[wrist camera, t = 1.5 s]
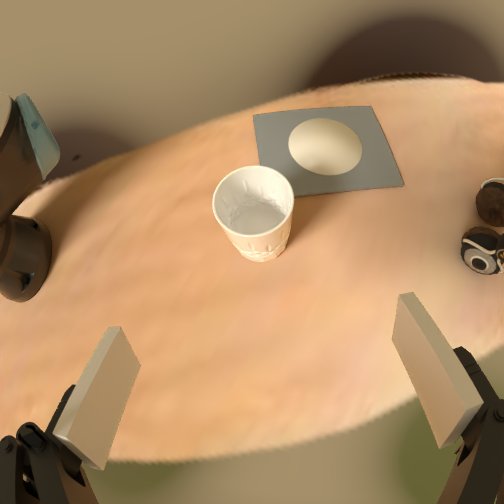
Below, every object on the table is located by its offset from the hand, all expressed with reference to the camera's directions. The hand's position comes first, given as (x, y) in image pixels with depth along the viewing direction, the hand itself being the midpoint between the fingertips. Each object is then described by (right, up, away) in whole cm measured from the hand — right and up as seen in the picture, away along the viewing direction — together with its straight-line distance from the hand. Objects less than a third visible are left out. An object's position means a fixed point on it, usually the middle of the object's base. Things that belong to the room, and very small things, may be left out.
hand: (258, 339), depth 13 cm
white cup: (+1, +6, +25) cm, 26 cm away
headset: (+33, +6, +21) cm, 40 cm away
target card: (+11, +19, +28) cm, 36 cm away
